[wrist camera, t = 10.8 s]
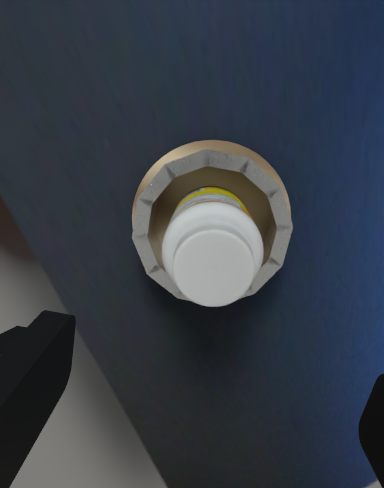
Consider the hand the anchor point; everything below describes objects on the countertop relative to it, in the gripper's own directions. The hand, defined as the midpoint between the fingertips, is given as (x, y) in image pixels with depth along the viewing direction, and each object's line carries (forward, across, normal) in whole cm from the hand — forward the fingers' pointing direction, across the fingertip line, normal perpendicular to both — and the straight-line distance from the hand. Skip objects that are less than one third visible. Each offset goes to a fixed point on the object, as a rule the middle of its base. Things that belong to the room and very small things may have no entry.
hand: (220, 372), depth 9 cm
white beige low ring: (+18, 0, 0) cm, 18 cm away
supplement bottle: (+18, 0, 0) cm, 18 cm away
